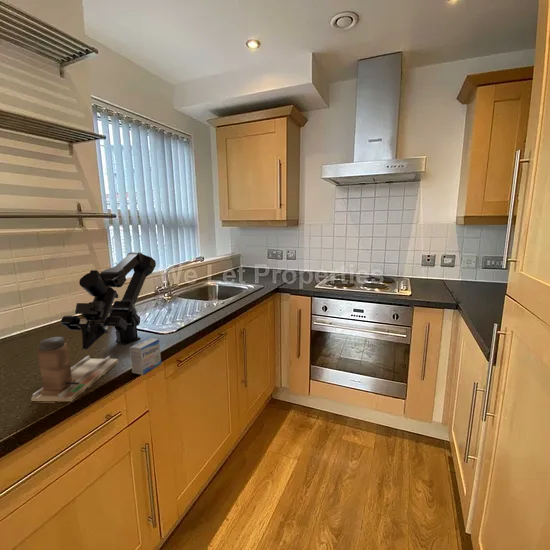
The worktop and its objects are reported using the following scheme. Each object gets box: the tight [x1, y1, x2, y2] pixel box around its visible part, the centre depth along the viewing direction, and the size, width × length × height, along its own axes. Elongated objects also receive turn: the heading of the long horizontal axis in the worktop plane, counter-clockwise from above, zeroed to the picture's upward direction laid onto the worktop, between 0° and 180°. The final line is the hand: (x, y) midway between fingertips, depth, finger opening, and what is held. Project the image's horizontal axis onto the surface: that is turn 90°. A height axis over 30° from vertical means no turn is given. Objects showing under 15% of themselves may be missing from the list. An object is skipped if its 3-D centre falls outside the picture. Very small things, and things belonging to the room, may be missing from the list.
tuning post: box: [36, 336, 79, 395], centre depth 80 cm, size 6×8×14 cm
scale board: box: [31, 355, 119, 402], centre depth 88 cm, size 22×10×2 cm, turn 178°
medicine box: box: [129, 337, 162, 376], centre depth 94 cm, size 8×4×9 cm, turn 158°
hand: (84, 349), depth 92 cm, fingers closed
